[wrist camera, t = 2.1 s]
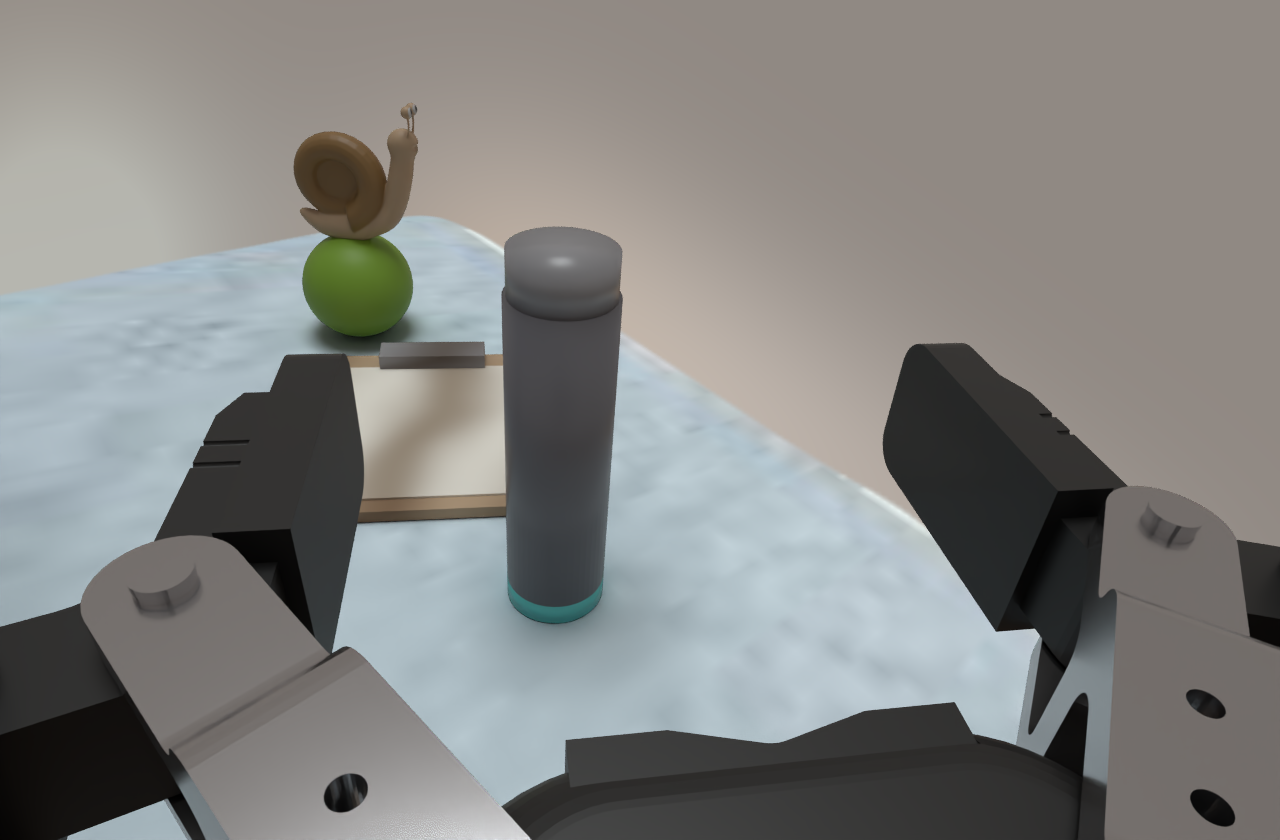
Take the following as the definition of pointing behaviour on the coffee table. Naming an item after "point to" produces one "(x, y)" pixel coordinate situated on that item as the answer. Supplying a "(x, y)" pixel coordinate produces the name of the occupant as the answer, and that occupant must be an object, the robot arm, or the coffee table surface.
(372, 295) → the snail figurine
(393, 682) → the coffee table surface
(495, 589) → the coffee table surface
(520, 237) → the cylinder
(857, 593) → the coffee table surface
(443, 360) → the clipboard
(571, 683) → the coffee table surface
